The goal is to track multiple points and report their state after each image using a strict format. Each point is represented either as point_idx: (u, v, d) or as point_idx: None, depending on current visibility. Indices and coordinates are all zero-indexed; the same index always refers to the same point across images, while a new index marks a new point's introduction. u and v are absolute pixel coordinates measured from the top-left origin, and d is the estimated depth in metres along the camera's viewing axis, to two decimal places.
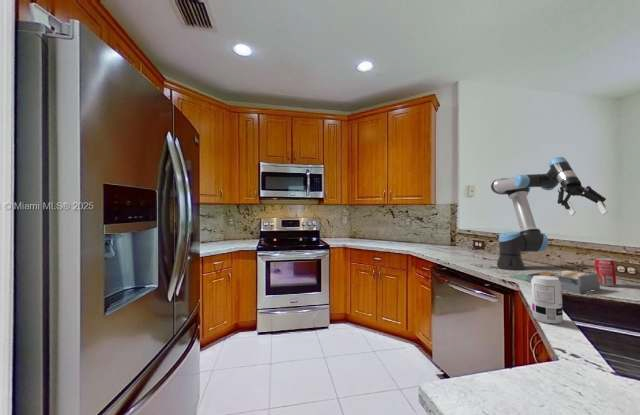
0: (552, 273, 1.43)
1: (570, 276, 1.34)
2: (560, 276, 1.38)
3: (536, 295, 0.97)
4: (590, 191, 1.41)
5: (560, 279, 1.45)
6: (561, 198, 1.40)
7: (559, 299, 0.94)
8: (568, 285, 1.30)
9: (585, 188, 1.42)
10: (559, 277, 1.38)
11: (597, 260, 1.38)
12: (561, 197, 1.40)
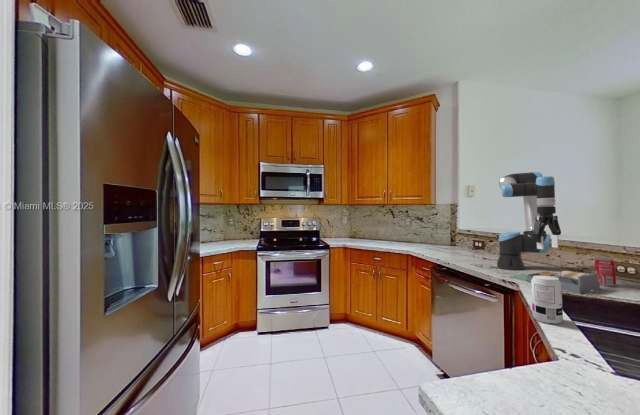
0: (552, 273, 1.43)
1: (570, 276, 1.34)
2: (560, 276, 1.38)
3: (536, 295, 0.97)
4: (555, 221, 1.46)
5: (560, 279, 1.45)
6: (539, 232, 1.41)
7: (559, 299, 0.94)
8: (568, 285, 1.30)
9: None
10: (559, 277, 1.38)
11: (597, 260, 1.38)
12: (539, 230, 1.41)
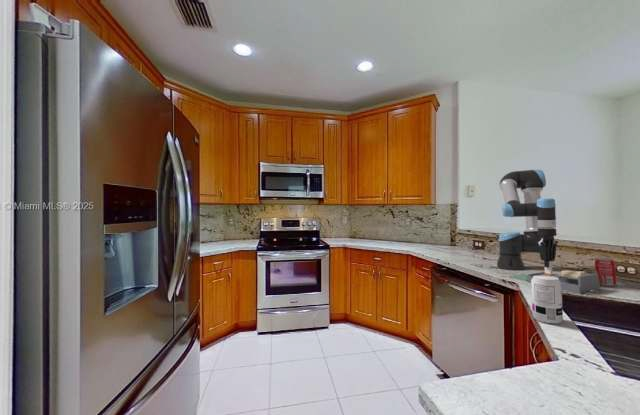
0: (552, 274, 1.43)
1: (570, 275, 1.34)
2: (560, 276, 1.38)
3: (536, 295, 0.97)
4: None
5: (560, 279, 1.45)
6: (546, 257, 1.42)
7: (559, 299, 0.94)
8: (568, 285, 1.30)
9: None
10: (559, 277, 1.38)
11: (597, 260, 1.38)
12: (545, 256, 1.42)
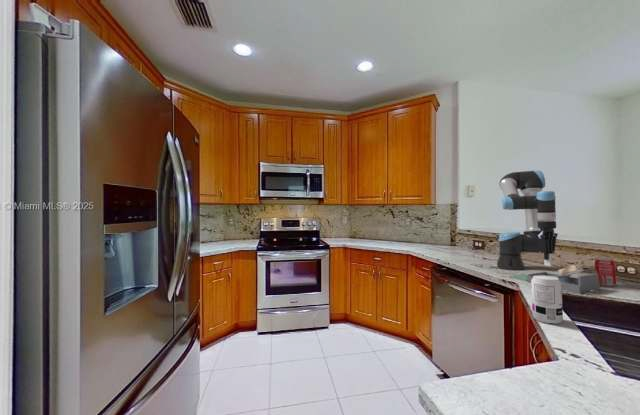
0: None
1: (567, 271, 1.35)
2: (559, 275, 1.38)
3: (536, 295, 0.97)
4: (553, 238, 1.46)
5: (560, 279, 1.45)
6: (546, 249, 1.42)
7: (559, 299, 0.94)
8: (568, 285, 1.30)
9: None
10: (559, 276, 1.38)
11: (597, 260, 1.38)
12: (545, 248, 1.42)
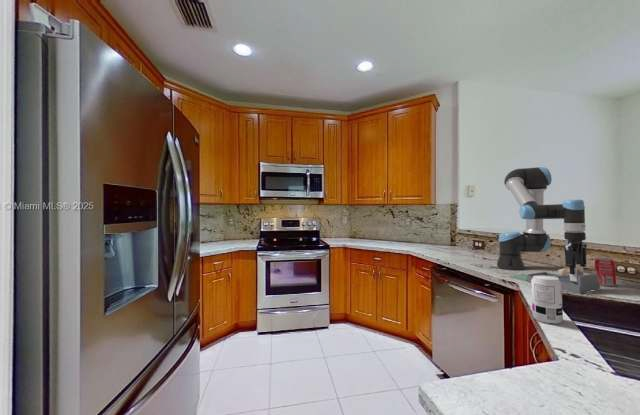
0: None
1: (567, 271, 1.35)
2: (559, 275, 1.38)
3: (536, 295, 0.97)
4: None
5: (560, 279, 1.45)
6: (572, 263, 1.30)
7: (559, 299, 0.94)
8: (568, 285, 1.30)
9: None
10: (559, 276, 1.38)
11: (597, 260, 1.38)
12: (572, 261, 1.30)
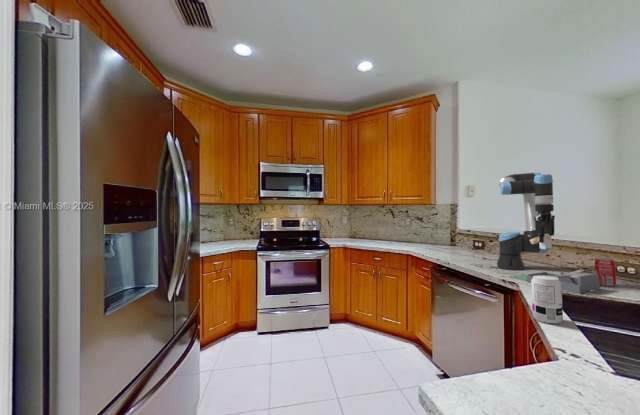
0: None
1: (537, 240, 1.48)
2: (559, 275, 1.38)
3: (536, 295, 0.97)
4: (551, 220, 1.47)
5: (560, 279, 1.45)
6: (541, 232, 1.43)
7: (559, 299, 0.94)
8: (568, 285, 1.30)
9: None
10: (559, 276, 1.38)
11: (597, 260, 1.38)
12: (541, 231, 1.43)
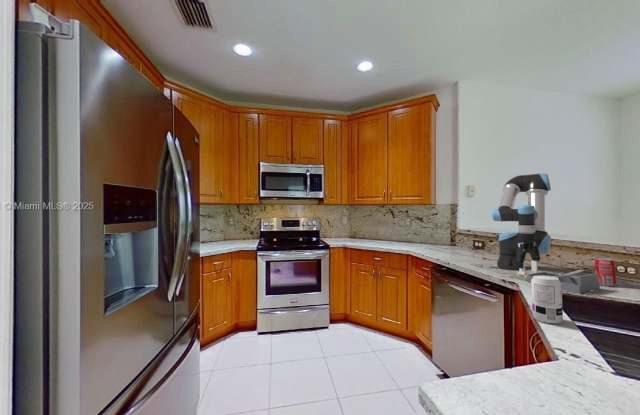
0: None
1: (523, 276, 1.54)
2: (559, 275, 1.38)
3: (536, 295, 0.97)
4: (535, 247, 1.55)
5: (560, 279, 1.45)
6: (520, 258, 1.50)
7: (559, 299, 0.94)
8: (568, 285, 1.30)
9: (534, 243, 1.55)
10: (559, 276, 1.38)
11: (597, 260, 1.38)
12: (521, 257, 1.50)
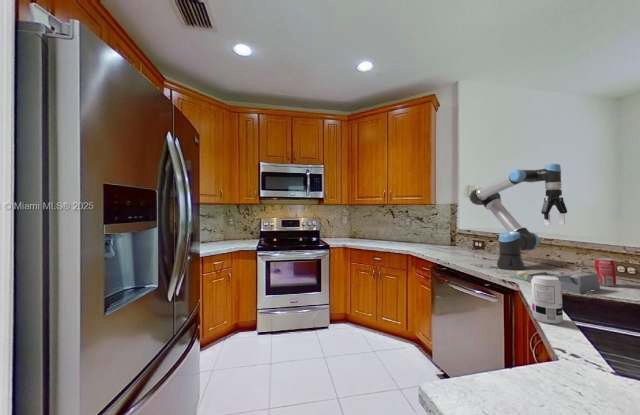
0: None
1: (523, 276, 1.54)
2: (559, 275, 1.38)
3: (536, 295, 0.97)
4: (561, 202, 1.70)
5: (560, 279, 1.45)
6: (546, 210, 1.64)
7: (559, 299, 0.94)
8: (568, 285, 1.30)
9: None
10: (559, 276, 1.38)
11: (597, 260, 1.38)
12: (546, 209, 1.64)
